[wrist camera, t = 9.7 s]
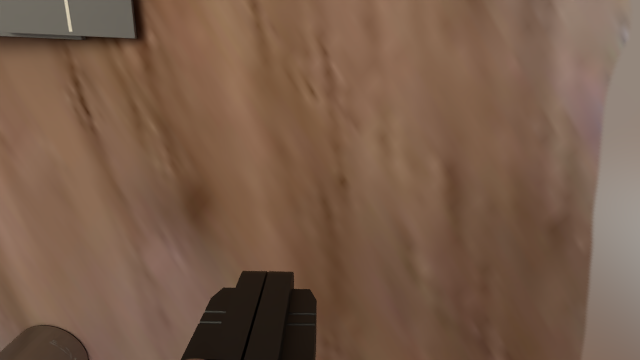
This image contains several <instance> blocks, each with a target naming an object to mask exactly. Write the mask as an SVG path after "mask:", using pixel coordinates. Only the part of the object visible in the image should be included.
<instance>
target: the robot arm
mask: <svg viewBox="0 0 640 360" xmlns="http://www.w3.org/2000/svg"><path fill="white" fill-rule="evenodd" d="M316 303H317V300H316V299H315V297H314V295H313V294H312V292H311V290H310V289H294V273H293V272H273V271H269V272H267V271H243V272H242V273H241V276H240V278H239V280H238V283H237V285H236V288H222V289H221V290H220V291H219V292H218V293H217V294H215V295H214V296H213V297H212V298H211V299H210V301H209V304H208V306H207V308H206V310H205V313H204V314H203V316H202V318H201V320H200V324H198V326H197V328H196V330H195V332H194V334H193V336H192V338H191V340H190V342H189V344H188V346H187V348H186V350H185V352H184V354H183V356H182V358H181V360H315V357H316ZM0 360H88V357H87V353H86V351H85V349H84V347H83V346H82V344H81V343H80V342H79V341H78V340H77V339H76V338H75V337H73V336H72V335H71V334H69V333H67V332H66V331H64V330H61V329H59V328H56V327H51V326H34V327H31V328H28V329H26V330H25V331H23V332H22V333H21V334H20V335H19V336H17V337H16V338H15V339H14V340H13V341H12V342H11V343H10V344H9V345H7V346H6V347H5V348H4V349H3V350H2V351H1V352H0Z"/></svg>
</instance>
